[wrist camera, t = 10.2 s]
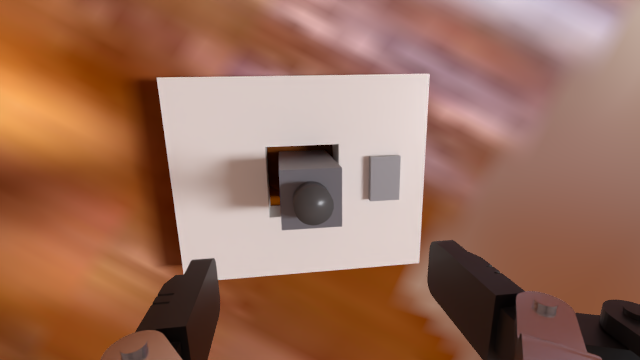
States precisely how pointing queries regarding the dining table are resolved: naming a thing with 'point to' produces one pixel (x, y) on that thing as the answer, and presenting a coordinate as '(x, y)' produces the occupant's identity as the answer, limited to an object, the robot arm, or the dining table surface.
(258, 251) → the socket plate
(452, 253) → the robot arm
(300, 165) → the gray knobbed square peg
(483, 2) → the dining table surface
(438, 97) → the dining table surface
